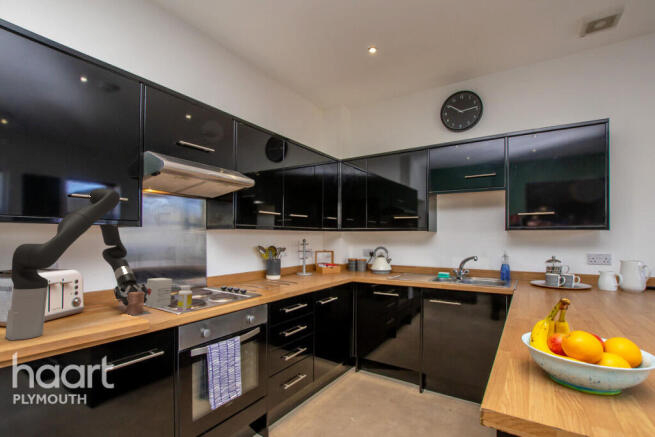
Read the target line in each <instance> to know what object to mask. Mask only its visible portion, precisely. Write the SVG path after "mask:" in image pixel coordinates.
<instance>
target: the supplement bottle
mask: <svg viewBox="0 0 655 437" xmlns="http://www.w3.org/2000/svg"><path fill="white" fill-rule="evenodd" d="M191 289H192V288H191V285H188V284H187V285H181V286H180V290H179V291H178V293H177V294H178V295H177V309H176V310H177V312H181V313H183V312H185V313H186V312H191V311H192V305H193V302H192V301H193V291H192V290H191Z"/></svg>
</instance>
